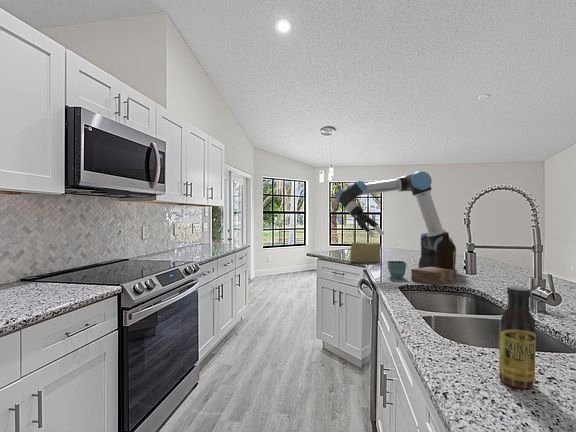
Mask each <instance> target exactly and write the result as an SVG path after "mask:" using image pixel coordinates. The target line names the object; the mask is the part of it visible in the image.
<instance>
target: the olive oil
mask: <svg viewBox="0 0 576 432" xmlns="http://www.w3.org/2000/svg"><path fill="white" fill-rule="evenodd" d="M449 237H450V234H449V232H447V231H446V232H443V239H442V240H441V241H440V242H439V243H438V244H437V246H436V257H437V268H445V269H452V270H456V261H457V260H456V259H457V258H456V257H457V248H456V245H455V244H454V242H453V243H452V242H451V241H450V240H449Z"/></svg>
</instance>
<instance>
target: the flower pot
mask: <svg viewBox="0 0 576 432" xmlns="http://www.w3.org/2000/svg"><path fill="white" fill-rule="evenodd" d="M406 267H407V263H406V261H403V260H388V261H387V268H388V269H387V270H388V273H389V275H390V277H391V278H392V279H403V278H404V275H405V274H406V270H407V269H406Z"/></svg>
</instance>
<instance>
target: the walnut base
mask: <svg viewBox="0 0 576 432" xmlns="http://www.w3.org/2000/svg"><path fill="white" fill-rule="evenodd" d="M410 275H411V281H413V282H414V281H415V282H419V283H425V284H430V285H437V286H440V285H445V284H450V283H451V284H452V283H456V282H457V281H458V276H457V275H458V271H457V269H455V270H452V269H445V268H437V267H424V268H420V267H418V268H412V269H411V274H410Z"/></svg>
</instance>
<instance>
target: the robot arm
mask: <svg viewBox="0 0 576 432" xmlns="http://www.w3.org/2000/svg"><path fill="white" fill-rule="evenodd" d="M432 181H433V179H432V176H431V175H430V174H429V172H426V171H424V170H420V171H418V170H417V171H415V172H412V173H409V174H406V175H403V176H399V177H396V178H394V179H388V180H387V179H386V180H380V181H373V182H367V183H365V182H364V181H363V180H362V179H359V180H358V181H356V182H355V183H353V184H351V185H348V186H347V187H346V189H344V188H341V189H339V190H338V191H337V192H336V194H335V195H334V196H335V199H336V200H337V201H338V203H339V204H340V205H342V207H343V208H344V209H345V210H346V212H348V213H349V214H350V216H351V217H352V218H353V219H354V220H355V221H356V223H357V224H358V227H359V228H361V230H364V231H365V232H366V233H367V234H368V235H369V236H370V238H372V237H373V236H374V235H376V234H375V232H374V231H373V230H372V229H371V228H370V227H369V226H371V227H373V229H374V230H375V231H376V232H377V233H378V234H379V235H380V237H383V235H384V234H385V232H384V230H382V228H381V227H380V226H379V223H378V222H376V221H375V220H374V219H372V218H371V217H370V216H369V215H368V214H367V213H365V214H364V213H363V212H364V209H363V208H362V207H361V206H360V205H359V203H358V202H357V201H356V200H355V199H357V198H358V197H359V196H365V195H372V194H373V195H374V194H382V193H387V192H395V191H397V192H399V193H400V192H411V193H412V196H414V197H415V198H416V201H417V203H418V206H419V208H420V212H421V215H422V217H423V221H424V223H425V227H426V230H427V232H424V233H421V235H420V257H419V262H418V264H417V265H418V266H417V267H418V268H424V267H437V257H436V246H437V244H438V243H439V242H440V241H441V240H442V239H443V232H447V230H446V229H444V228H443V226H442V224H441V221H440V218H439V215H438V214H439V213H438V211H437V208H436V205H435V203H434V200H433V198H432V193H431V192H432V186H431V185H432V184H433V183H432ZM367 224H368V225H367ZM449 240H450V241H451V242H452V243H453V244H454V241H453V239H452V237H450V236H449Z"/></svg>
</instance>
